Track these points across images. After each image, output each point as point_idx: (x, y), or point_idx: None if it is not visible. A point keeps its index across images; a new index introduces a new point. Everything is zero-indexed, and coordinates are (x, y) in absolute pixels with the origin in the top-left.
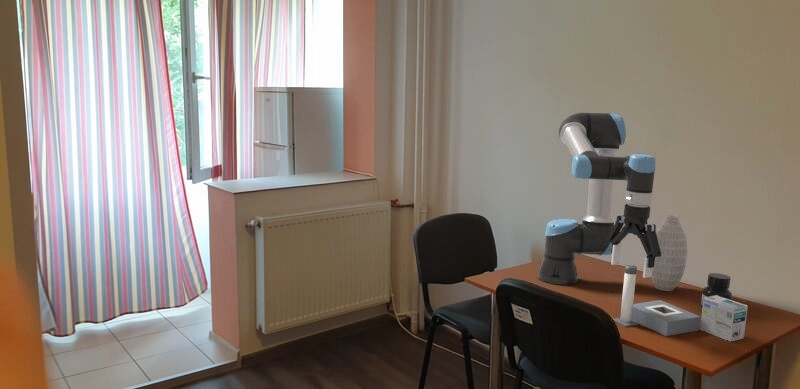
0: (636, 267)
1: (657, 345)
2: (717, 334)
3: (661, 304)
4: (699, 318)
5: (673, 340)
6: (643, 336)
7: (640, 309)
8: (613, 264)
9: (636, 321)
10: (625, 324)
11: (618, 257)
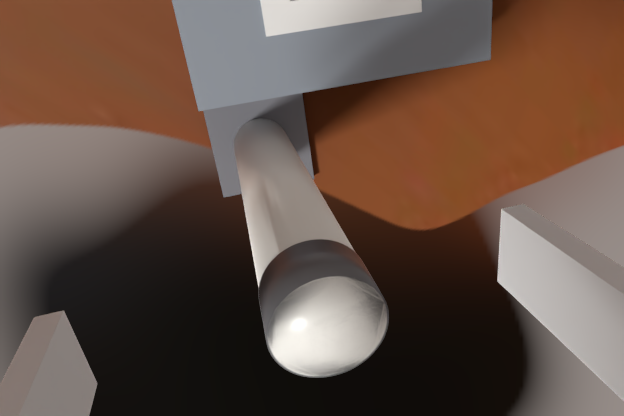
0: (367, 288)
1: (507, 157)
2: None
3: None
4: None
5: (497, 49)
6: (420, 158)
7: (290, 87)
8: (92, 378)
9: None
10: None
11: (46, 390)
